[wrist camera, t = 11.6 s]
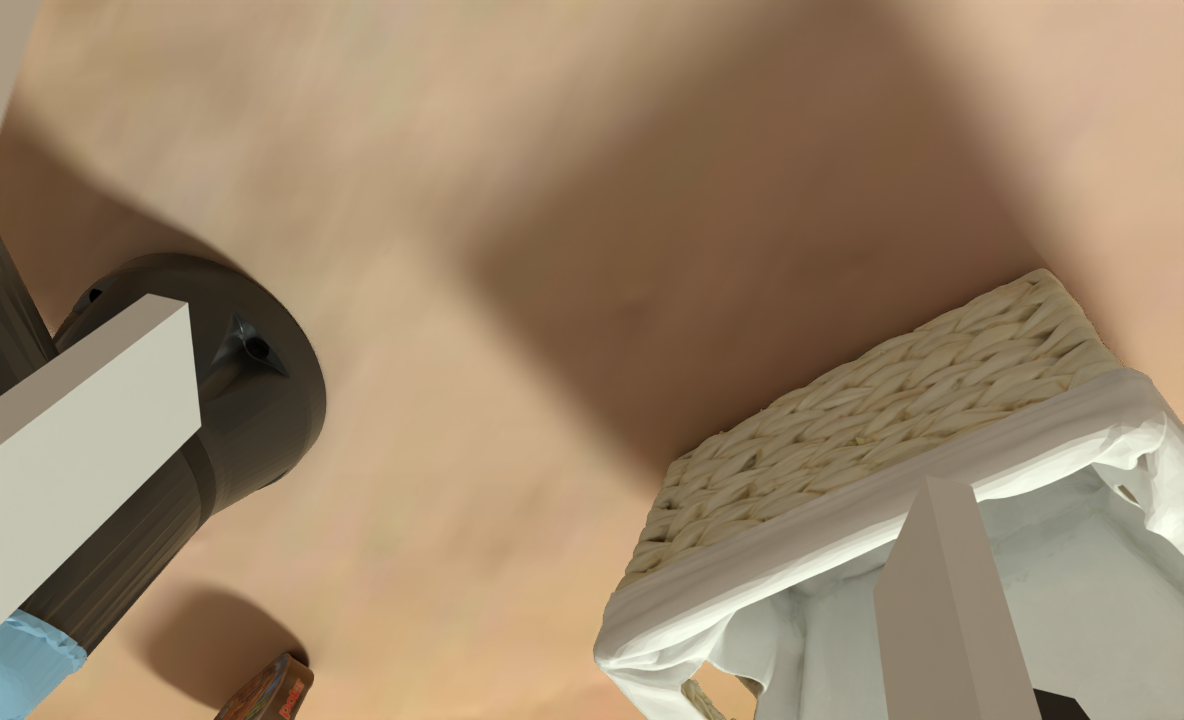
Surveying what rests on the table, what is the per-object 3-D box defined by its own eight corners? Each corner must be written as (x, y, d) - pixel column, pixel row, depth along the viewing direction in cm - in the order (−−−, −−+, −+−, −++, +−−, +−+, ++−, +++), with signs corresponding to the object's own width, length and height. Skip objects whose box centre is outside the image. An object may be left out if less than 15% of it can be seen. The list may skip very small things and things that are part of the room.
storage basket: (795, 635, 53) (790, 876, 41) (630, 451, 49) (568, 658, 36) (1217, 472, 42) (1388, 736, 30) (1051, 214, 38) (1171, 396, 25)
